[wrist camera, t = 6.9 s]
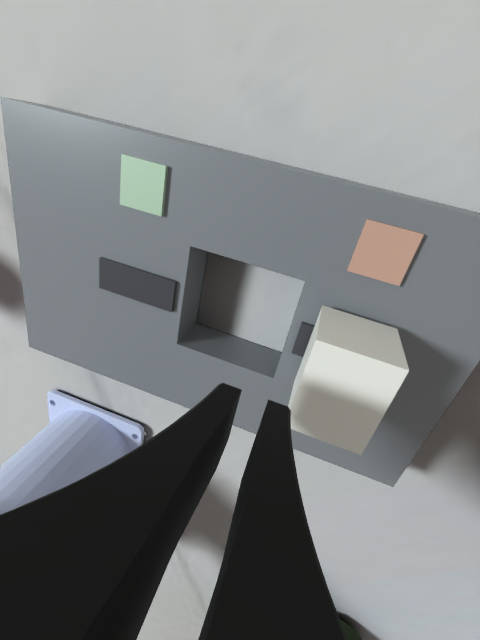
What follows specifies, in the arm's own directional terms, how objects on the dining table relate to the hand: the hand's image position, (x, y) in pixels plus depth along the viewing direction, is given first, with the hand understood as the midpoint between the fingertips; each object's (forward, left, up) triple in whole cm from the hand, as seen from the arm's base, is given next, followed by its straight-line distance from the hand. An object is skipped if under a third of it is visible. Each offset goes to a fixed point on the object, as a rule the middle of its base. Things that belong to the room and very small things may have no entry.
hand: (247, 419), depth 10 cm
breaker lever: (0, -3, -5) cm, 6 cm away
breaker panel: (0, +3, -8) cm, 9 cm away
